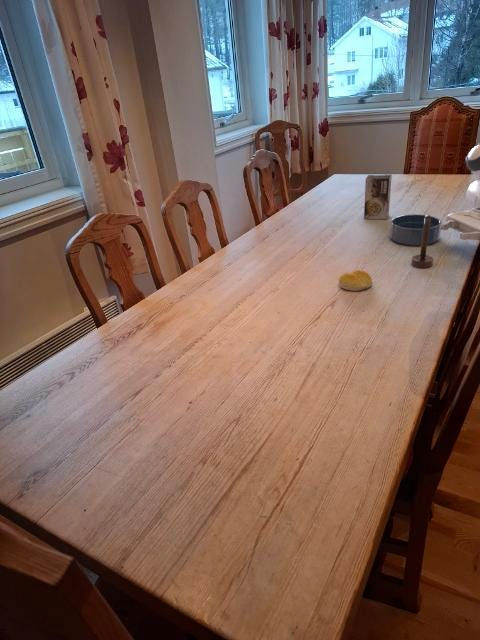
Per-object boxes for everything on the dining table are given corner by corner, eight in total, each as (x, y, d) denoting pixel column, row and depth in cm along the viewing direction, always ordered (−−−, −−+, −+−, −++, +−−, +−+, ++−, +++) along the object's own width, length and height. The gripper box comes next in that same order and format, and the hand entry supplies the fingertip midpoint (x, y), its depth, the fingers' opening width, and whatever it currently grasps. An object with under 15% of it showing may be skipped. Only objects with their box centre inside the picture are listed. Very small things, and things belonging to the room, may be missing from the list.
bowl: (437, 231, 154) (440, 214, 151) (440, 247, 141) (443, 229, 138) (390, 230, 159) (391, 214, 156) (388, 245, 146) (390, 228, 143)
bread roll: (333, 283, 125) (334, 270, 123) (360, 277, 127) (361, 264, 125) (348, 294, 118) (349, 281, 116) (377, 287, 120) (378, 274, 118)
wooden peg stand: (431, 261, 132) (438, 212, 125) (432, 268, 127) (440, 218, 120) (411, 260, 134) (416, 212, 126) (411, 267, 129) (417, 218, 122)
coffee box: (389, 215, 174) (392, 174, 166) (386, 219, 169) (390, 177, 161) (366, 214, 178) (368, 174, 170) (363, 218, 173) (365, 177, 165)
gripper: (516, 245, 122) (472, 253, 120) (469, 225, 140) (430, 231, 138) (521, 224, 119) (476, 231, 117) (472, 206, 136) (433, 212, 135)
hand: (451, 231), depth 128 cm, fingers open, 8 cm apart
